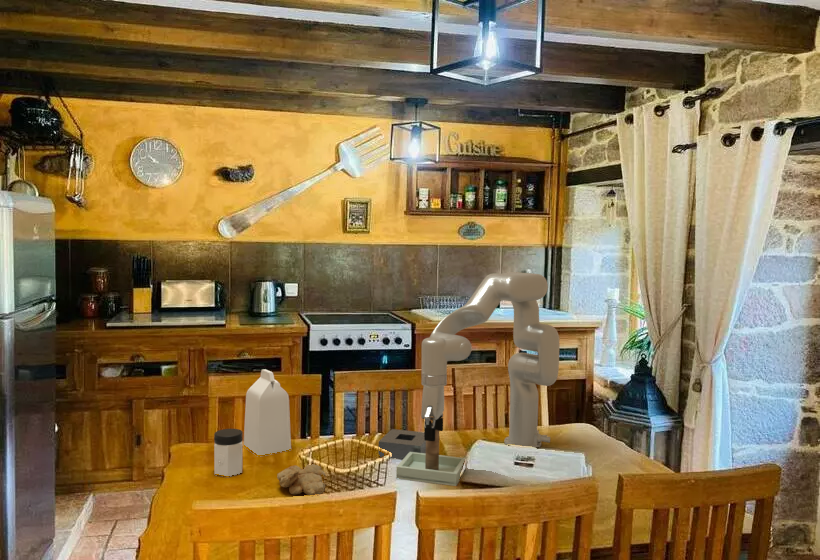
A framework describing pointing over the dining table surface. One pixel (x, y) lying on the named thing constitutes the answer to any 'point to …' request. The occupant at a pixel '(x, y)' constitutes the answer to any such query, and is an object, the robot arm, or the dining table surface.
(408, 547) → the dining table surface
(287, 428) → the milk
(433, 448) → the walnut peg
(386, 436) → the block
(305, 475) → the ginger root
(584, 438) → the dining table surface
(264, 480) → the dining table surface
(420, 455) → the sage tray
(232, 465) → the jar
